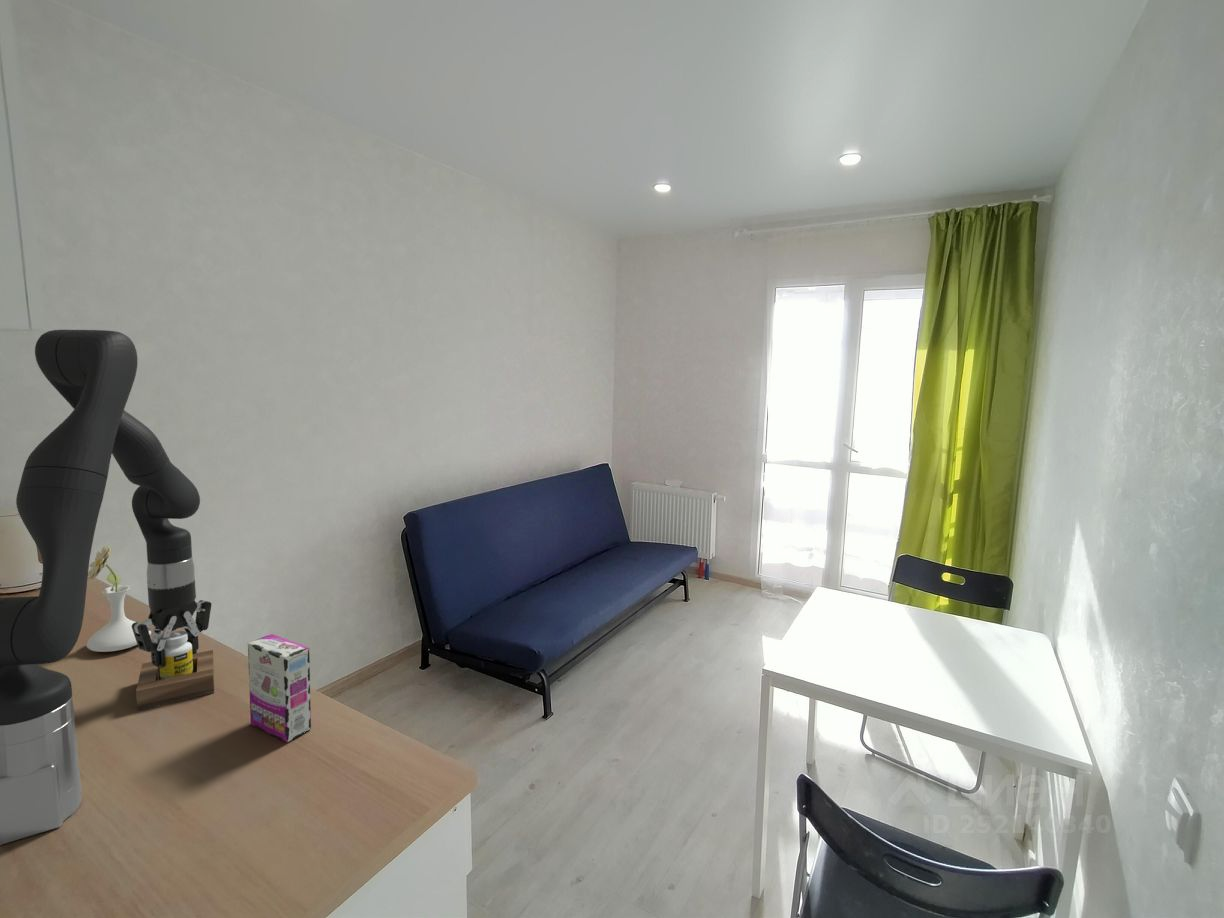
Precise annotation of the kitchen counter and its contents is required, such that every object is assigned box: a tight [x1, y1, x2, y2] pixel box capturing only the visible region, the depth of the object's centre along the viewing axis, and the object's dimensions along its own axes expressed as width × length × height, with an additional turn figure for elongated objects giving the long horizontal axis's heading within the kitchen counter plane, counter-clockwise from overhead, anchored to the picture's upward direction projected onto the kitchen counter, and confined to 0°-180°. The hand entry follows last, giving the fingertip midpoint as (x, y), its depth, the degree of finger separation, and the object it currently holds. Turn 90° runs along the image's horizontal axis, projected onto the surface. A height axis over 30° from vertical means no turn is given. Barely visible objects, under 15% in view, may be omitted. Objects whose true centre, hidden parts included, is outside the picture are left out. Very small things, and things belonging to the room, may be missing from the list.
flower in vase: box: [86, 545, 152, 653], centre depth 128 cm, size 13×11×25 cm
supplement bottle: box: [160, 630, 193, 680], centre depth 114 cm, size 5×5×10 cm
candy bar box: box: [247, 633, 312, 743], centre depth 103 cm, size 11×5×16 cm, turn 64°
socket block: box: [135, 649, 215, 711], centre depth 115 cm, size 12×12×4 cm
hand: (176, 659), depth 114 cm, fingers closed on supplement bottle, 5 cm apart
